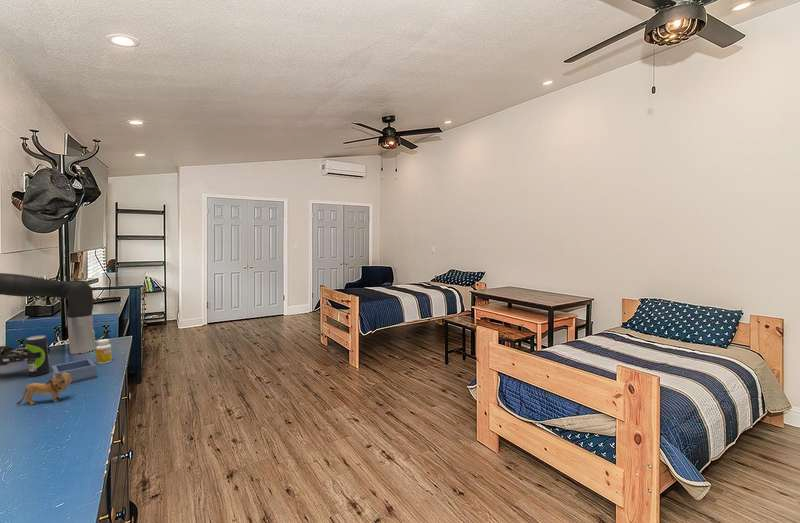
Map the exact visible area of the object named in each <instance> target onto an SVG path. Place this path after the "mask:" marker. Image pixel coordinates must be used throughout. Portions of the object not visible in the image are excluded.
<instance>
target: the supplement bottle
mask: <svg viewBox="0 0 800 523" xmlns="http://www.w3.org/2000/svg"><path fill="white" fill-rule="evenodd" d="M95 347H96V350H95V354H96V355H95V356H96V363H97V364H99V365H102V364H104V363H105V364H108V363H111V362H112V361H113V354H112V352H113V351H112V345H111V343H110V339H108V338H104V339H103V338H101V339H100V340H99V339H98V340H97V346H95ZM105 364H104V365H105Z"/></svg>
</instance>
